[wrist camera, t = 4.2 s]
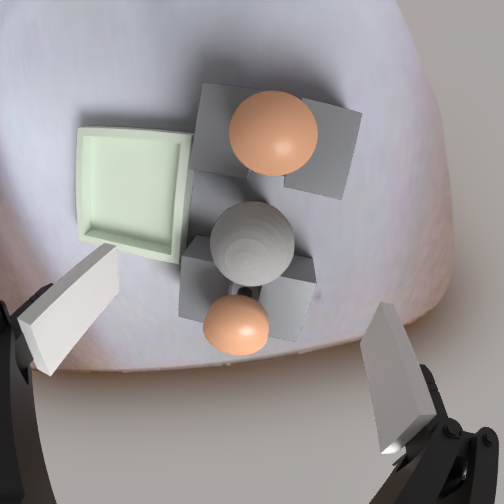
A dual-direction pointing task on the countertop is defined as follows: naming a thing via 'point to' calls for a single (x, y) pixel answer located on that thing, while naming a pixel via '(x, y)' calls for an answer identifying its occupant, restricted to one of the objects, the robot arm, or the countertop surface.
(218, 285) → the socket housing
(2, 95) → the countertop surface
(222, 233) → the light bulb
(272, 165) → the orange mushroom knob
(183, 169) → the tray
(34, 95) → the countertop surface
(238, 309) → the plunger
